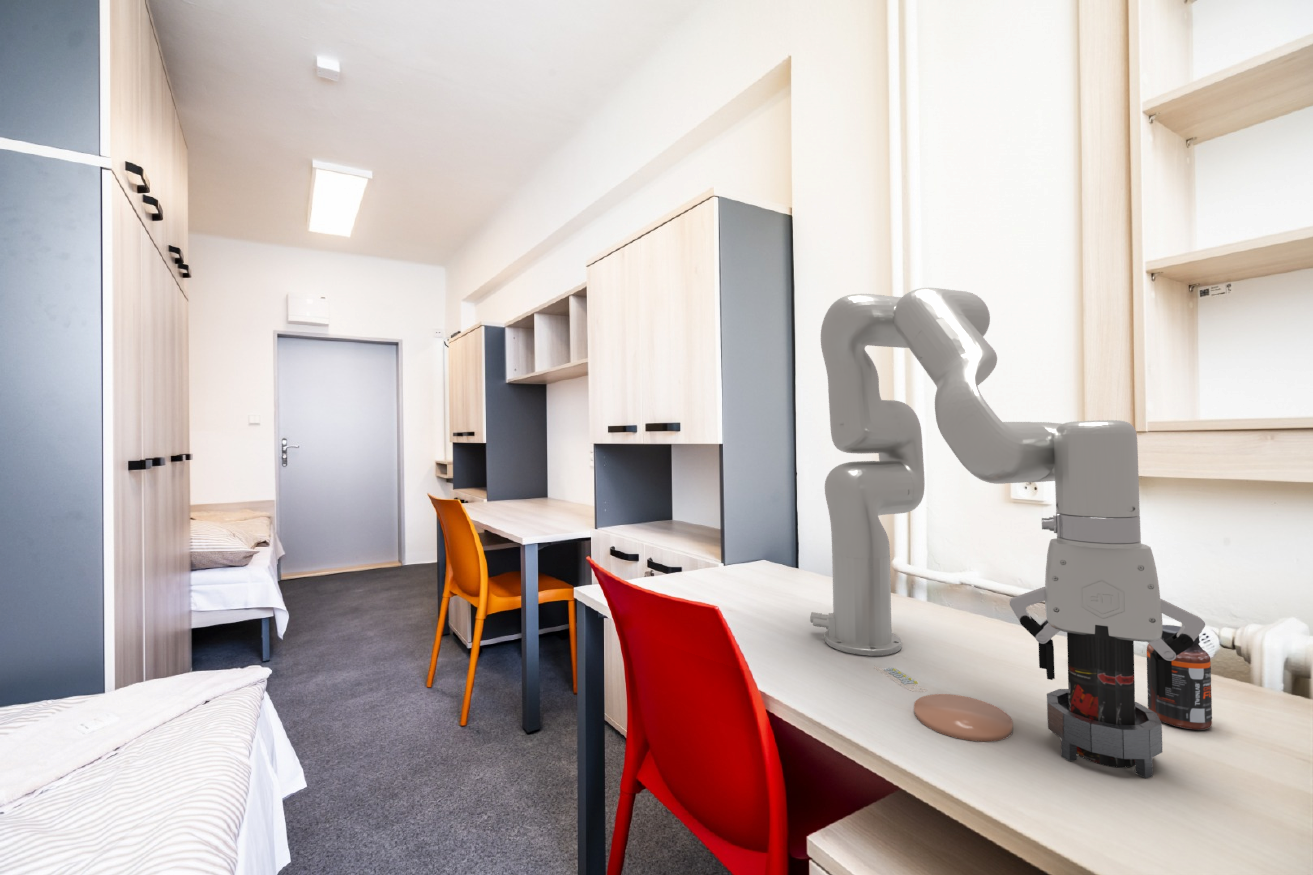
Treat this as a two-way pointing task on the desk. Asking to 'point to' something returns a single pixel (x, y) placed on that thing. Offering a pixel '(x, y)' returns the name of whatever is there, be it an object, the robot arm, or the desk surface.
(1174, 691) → the supplement bottle
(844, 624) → the robot arm
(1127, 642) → the deodorant
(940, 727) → the coaster
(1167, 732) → the desk surface
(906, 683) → the keychain
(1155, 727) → the ring stand
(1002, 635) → the desk surface
